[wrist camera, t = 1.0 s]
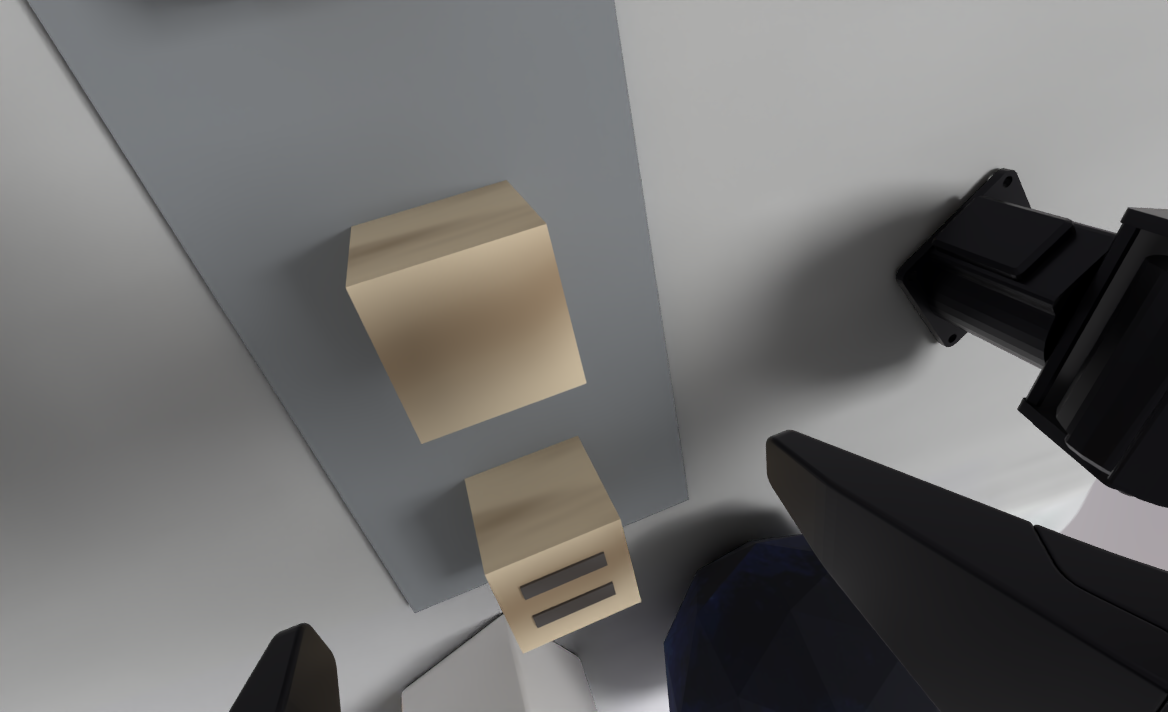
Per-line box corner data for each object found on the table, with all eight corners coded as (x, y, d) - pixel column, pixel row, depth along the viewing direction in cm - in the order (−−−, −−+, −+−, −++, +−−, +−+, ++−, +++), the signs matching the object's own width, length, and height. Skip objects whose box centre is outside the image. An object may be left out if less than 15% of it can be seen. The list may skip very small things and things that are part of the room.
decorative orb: (841, 733, 37) (1121, 904, 23) (628, 801, 32) (820, 1074, 18) (810, 506, 39) (1051, 536, 25) (605, 536, 34) (762, 595, 20)
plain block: (543, 313, 21) (586, 383, 17) (411, 359, 20) (421, 444, 16) (506, 179, 18) (546, 223, 14) (350, 226, 17) (345, 287, 13)
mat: (683, 491, 29) (688, 499, 28) (414, 602, 27) (414, 613, 26) (539, -437, 13) (546, -456, 12) (-179, -349, 10) (-207, -368, 10)
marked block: (599, 514, 27) (642, 603, 23) (496, 556, 26) (521, 657, 22) (577, 435, 24) (621, 520, 20) (462, 479, 23) (482, 578, 19)
